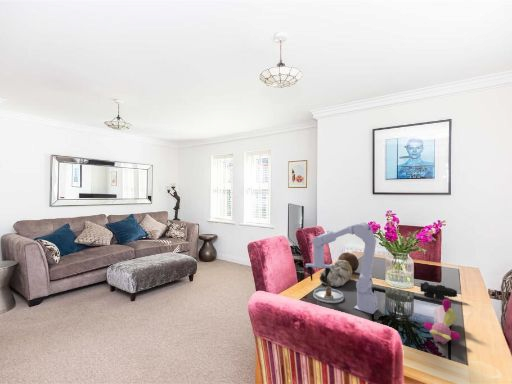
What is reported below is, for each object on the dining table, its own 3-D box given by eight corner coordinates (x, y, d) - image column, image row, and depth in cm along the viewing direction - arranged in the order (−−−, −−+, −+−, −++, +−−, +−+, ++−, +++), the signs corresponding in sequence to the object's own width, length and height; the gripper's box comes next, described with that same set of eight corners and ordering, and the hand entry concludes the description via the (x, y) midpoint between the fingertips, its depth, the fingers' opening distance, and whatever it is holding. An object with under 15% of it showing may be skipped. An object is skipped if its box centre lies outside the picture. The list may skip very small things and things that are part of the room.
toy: (429, 314, 129) (419, 343, 106) (432, 290, 128) (422, 314, 105) (461, 325, 121) (457, 359, 98) (465, 299, 120) (462, 327, 97)
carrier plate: (348, 296, 152) (348, 290, 152) (335, 305, 140) (335, 299, 140) (322, 289, 164) (322, 283, 164) (307, 297, 152) (307, 291, 152)
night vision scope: (457, 304, 147) (457, 297, 141) (419, 297, 158) (418, 291, 152) (456, 291, 152) (456, 283, 145) (420, 285, 162) (418, 278, 156)
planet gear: (334, 298, 148) (334, 287, 148) (330, 300, 144) (330, 289, 144) (326, 295, 151) (326, 285, 151) (322, 298, 147) (322, 287, 147)
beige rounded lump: (314, 280, 178) (340, 266, 191) (329, 297, 169) (356, 282, 182) (321, 265, 169) (348, 251, 182) (337, 283, 160) (365, 267, 173)
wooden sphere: (362, 272, 197) (362, 252, 197) (352, 277, 187) (352, 256, 187) (343, 268, 208) (344, 249, 208) (333, 272, 198) (333, 252, 198)
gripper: (331, 256, 154) (331, 279, 154) (306, 254, 157) (306, 277, 157) (332, 259, 147) (332, 283, 147) (305, 257, 150) (305, 281, 150)
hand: (318, 280), depth 152 cm, fingers open, 7 cm apart
